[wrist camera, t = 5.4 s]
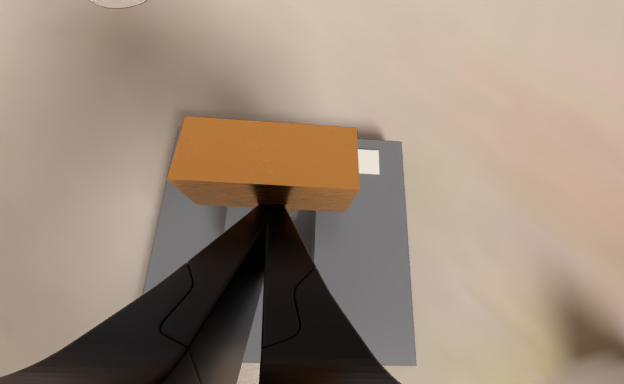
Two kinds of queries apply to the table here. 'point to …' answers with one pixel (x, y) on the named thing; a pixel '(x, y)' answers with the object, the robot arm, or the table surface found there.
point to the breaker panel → (323, 251)
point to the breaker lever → (266, 164)
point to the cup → (117, 3)
